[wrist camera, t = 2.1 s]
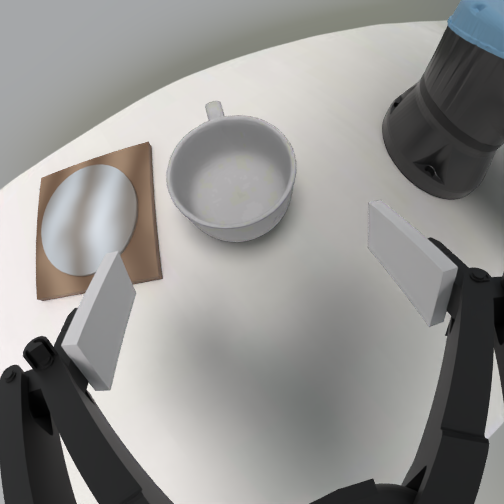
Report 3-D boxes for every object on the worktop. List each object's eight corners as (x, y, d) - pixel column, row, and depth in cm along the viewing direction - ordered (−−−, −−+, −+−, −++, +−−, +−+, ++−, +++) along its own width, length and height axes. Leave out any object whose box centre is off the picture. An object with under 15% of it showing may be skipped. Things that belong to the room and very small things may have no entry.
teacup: (294, 248, 31) (304, 220, 23) (186, 256, 31) (161, 232, 23) (280, 132, 34) (283, 85, 26) (187, 141, 34) (170, 97, 27)
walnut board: (151, 147, 34) (146, 138, 32) (162, 278, 30) (155, 275, 28) (46, 181, 34) (38, 175, 32) (43, 300, 30) (32, 298, 28)
